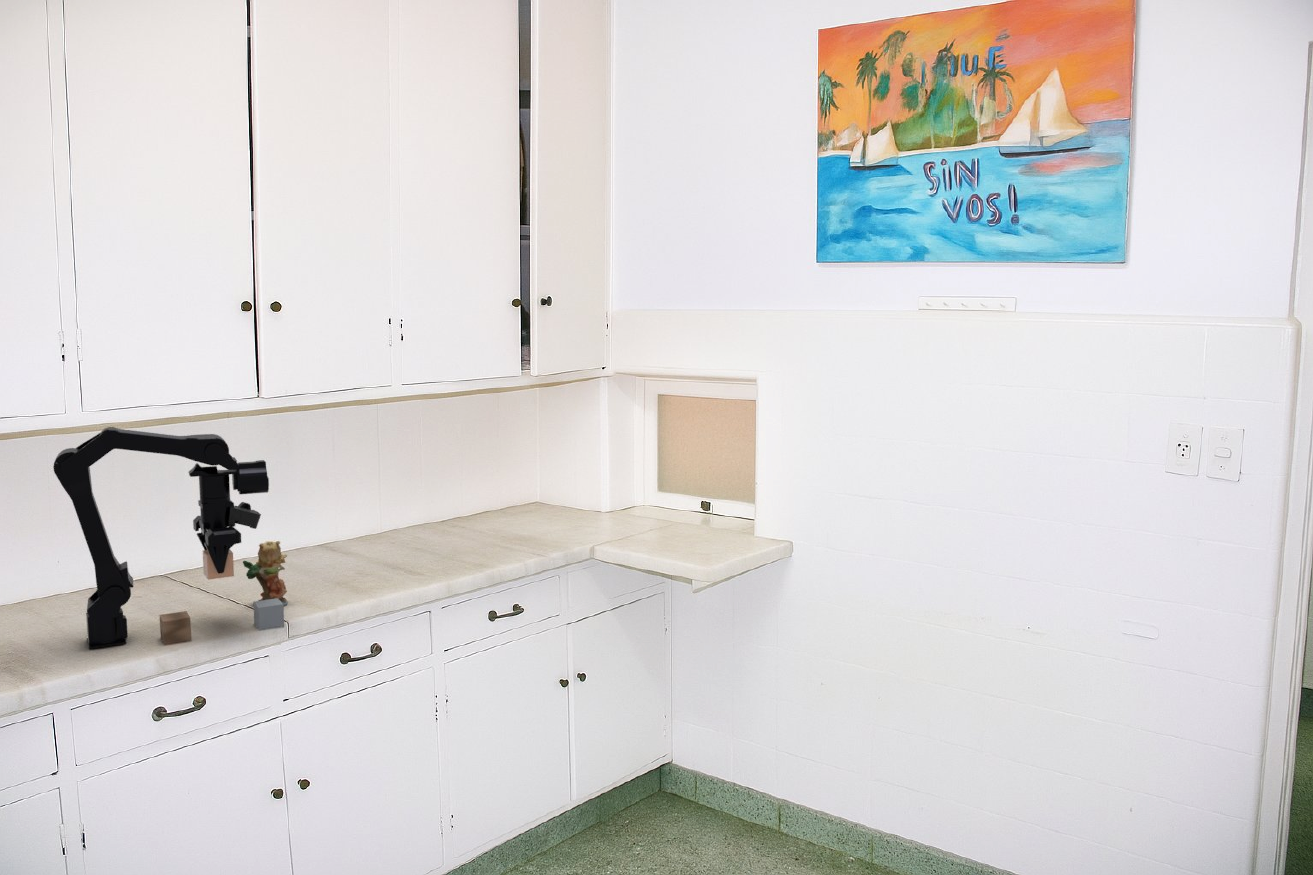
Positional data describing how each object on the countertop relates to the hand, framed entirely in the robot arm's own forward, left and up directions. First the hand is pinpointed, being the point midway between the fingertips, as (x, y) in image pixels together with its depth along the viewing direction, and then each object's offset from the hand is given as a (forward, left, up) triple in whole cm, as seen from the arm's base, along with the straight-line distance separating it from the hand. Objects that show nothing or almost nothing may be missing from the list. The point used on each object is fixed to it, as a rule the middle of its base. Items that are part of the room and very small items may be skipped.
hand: (218, 570), depth 212 cm
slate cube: (+9, -3, -13) cm, 16 cm away
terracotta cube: (0, 0, -1) cm, 1 cm away
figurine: (+12, +12, -13) cm, 21 cm away
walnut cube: (-9, -3, -13) cm, 16 cm away
